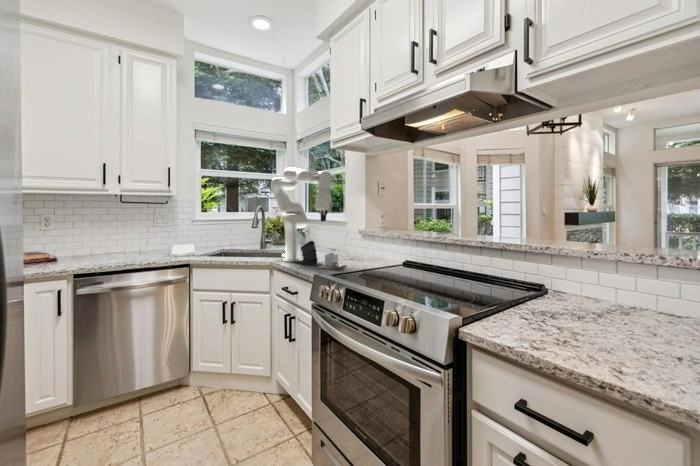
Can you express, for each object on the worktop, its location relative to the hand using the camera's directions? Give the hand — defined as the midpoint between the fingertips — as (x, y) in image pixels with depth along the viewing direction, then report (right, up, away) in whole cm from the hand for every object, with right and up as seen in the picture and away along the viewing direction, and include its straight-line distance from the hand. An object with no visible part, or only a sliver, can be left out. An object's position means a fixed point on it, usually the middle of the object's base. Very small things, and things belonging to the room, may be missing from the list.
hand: (323, 221), depth 207 cm
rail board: (+6, -28, -7) cm, 30 cm away
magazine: (-10, -28, +8) cm, 30 cm away
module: (+6, -27, -7) cm, 29 cm away
